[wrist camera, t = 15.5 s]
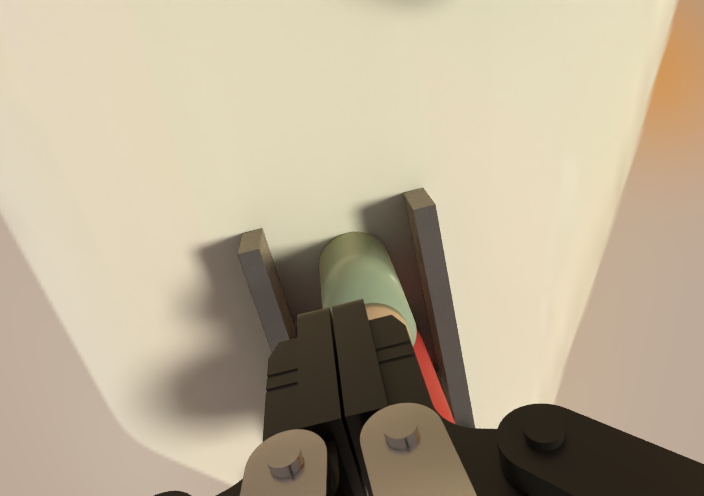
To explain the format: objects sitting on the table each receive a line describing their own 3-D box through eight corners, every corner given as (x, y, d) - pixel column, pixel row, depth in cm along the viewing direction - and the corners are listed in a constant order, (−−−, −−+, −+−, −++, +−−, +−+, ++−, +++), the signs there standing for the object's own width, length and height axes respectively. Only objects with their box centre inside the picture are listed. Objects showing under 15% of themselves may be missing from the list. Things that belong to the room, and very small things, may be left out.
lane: (242, 233, 32) (233, 270, 27) (423, 187, 32) (444, 217, 27) (319, 457, 39) (322, 516, 35) (466, 421, 39) (488, 474, 35)
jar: (309, 244, 33) (314, 320, 25) (379, 222, 32) (407, 291, 24) (331, 305, 34) (342, 394, 26) (397, 284, 34) (429, 368, 26)
